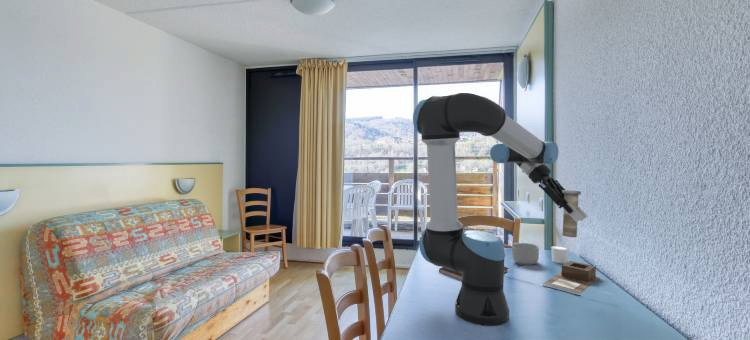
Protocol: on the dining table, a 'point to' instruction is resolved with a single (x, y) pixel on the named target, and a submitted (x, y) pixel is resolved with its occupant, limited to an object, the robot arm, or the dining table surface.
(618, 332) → the dining table surface
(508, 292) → the dining table surface
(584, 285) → the socket board
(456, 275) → the hardcover book
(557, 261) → the short white cylinder
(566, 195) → the capped plug
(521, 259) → the teacup
